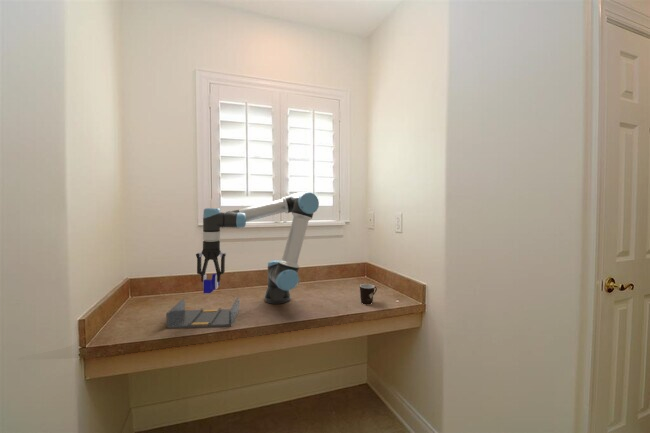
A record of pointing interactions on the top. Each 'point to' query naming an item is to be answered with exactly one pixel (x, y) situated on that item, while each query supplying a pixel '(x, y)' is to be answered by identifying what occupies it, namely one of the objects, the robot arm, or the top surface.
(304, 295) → the top surface
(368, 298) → the coffee mug
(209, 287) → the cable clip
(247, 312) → the top surface
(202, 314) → the desk rack
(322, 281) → the top surface
